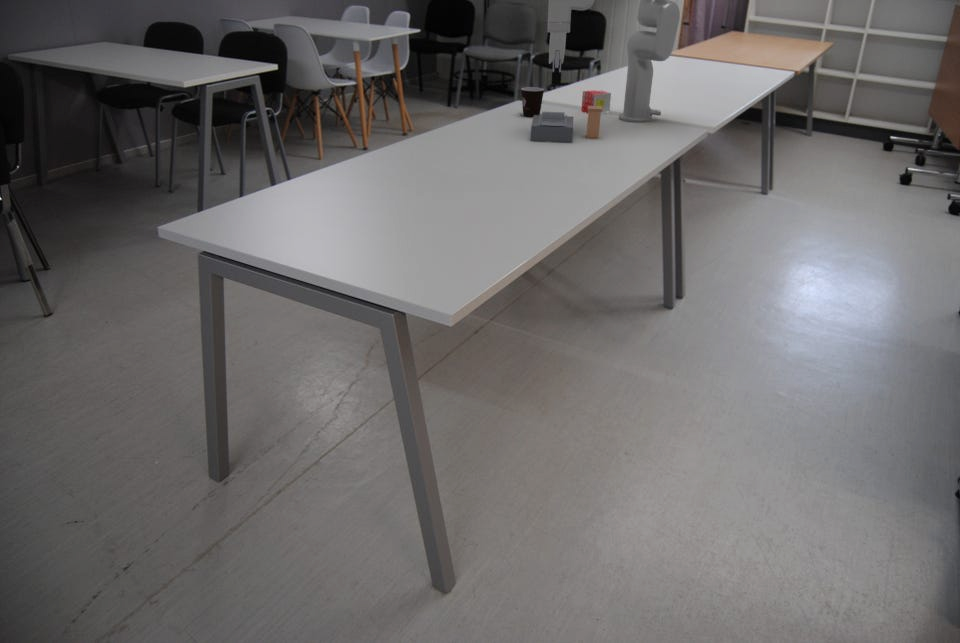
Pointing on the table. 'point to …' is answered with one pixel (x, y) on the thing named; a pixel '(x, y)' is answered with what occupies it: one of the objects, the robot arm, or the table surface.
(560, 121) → the shutter
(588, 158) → the table surface
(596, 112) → the plug
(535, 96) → the dark brown cup
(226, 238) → the table surface
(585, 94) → the puzzle cube
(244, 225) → the table surface
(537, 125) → the socket box
